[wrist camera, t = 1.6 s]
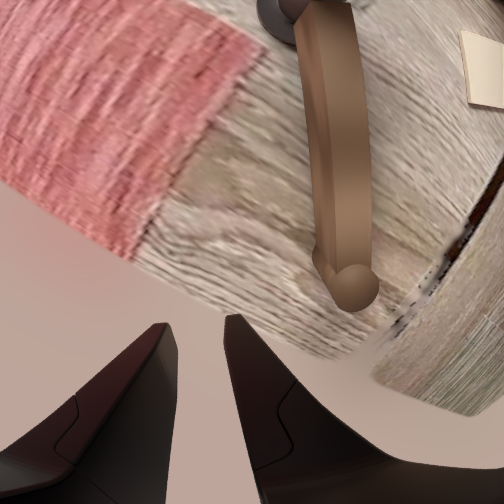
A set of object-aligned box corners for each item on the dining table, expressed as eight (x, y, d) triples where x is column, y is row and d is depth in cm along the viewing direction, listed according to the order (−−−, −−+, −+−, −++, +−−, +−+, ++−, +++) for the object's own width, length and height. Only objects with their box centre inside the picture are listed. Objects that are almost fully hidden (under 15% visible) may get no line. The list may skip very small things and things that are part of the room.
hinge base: (335, -23, 13) (338, -27, 12) (350, 48, 15) (353, 45, 14) (250, -24, 13) (251, -28, 12) (262, 49, 15) (263, 47, 14)
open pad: (503, 46, 14) (506, 45, 14) (512, 110, 16) (515, 110, 16) (457, 30, 14) (460, 29, 14) (468, 102, 16) (471, 102, 16)
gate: (274, -18, 12) (305, -98, 5) (326, -17, 12) (384, -84, 5) (308, 275, 19) (349, 364, 12) (353, 268, 19) (412, 347, 12)
